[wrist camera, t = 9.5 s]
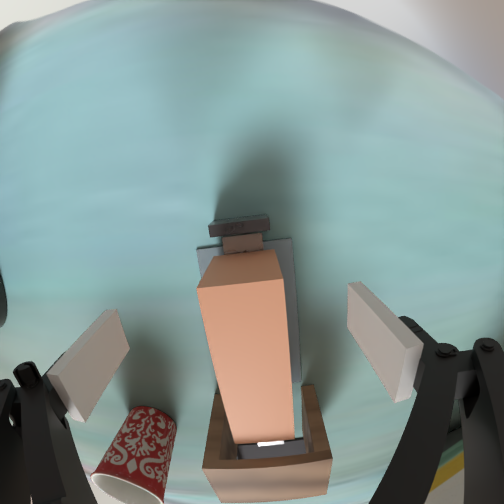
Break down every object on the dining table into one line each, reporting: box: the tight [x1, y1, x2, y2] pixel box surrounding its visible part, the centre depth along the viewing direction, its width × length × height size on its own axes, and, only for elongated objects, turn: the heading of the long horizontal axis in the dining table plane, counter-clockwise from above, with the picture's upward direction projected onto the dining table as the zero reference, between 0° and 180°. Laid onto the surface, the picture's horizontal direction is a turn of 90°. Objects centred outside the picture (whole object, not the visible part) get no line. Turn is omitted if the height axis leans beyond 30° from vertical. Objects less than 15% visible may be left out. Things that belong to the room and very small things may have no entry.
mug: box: [91, 406, 177, 504], centre depth 27 cm, size 13×9×14 cm
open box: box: [202, 385, 333, 503], centre depth 26 cm, size 9×12×12 cm
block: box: [196, 249, 295, 444], centre depth 23 cm, size 16×6×8 cm, turn 7°
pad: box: [196, 238, 301, 383], centre depth 28 cm, size 17×9×1 cm, turn 7°
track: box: [208, 214, 284, 446], centre depth 28 cm, size 31×5×3 cm, turn 7°
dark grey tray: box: [237, 438, 306, 460], centre depth 33 cm, size 9×12×2 cm
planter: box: [425, 427, 464, 504], centre depth 23 cm, size 27×27×27 cm
